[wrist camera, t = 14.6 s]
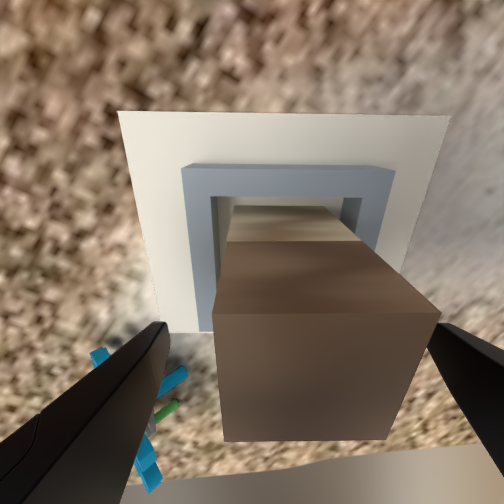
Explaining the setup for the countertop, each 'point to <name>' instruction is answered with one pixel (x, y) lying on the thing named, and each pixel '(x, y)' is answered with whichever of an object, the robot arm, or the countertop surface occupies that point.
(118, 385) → the robot arm
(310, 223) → the maple cube
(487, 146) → the countertop surface
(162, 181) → the board
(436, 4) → the countertop surface
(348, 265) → the walnut block
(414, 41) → the countertop surface
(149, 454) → the gear
